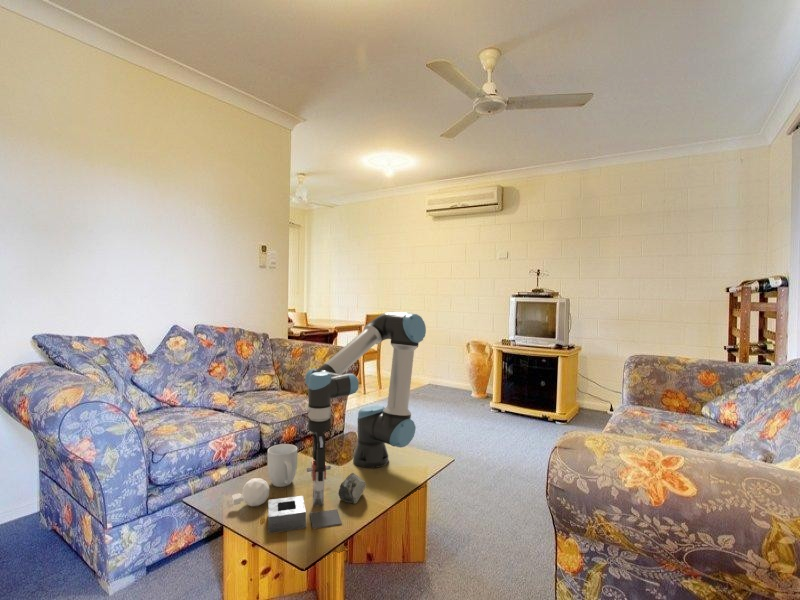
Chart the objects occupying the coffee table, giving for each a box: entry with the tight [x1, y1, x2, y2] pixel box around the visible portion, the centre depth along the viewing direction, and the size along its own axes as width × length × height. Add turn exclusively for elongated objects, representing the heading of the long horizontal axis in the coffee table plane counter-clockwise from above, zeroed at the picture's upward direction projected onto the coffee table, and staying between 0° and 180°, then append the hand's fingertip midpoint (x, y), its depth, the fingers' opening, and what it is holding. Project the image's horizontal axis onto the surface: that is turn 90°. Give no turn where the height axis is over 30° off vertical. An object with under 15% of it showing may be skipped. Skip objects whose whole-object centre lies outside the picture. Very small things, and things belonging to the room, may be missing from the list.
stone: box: [337, 472, 367, 504], centre depth 151 cm, size 10×10×10 cm
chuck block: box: [267, 495, 307, 534], centre depth 136 cm, size 11×11×5 cm
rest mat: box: [309, 509, 342, 530], centre depth 138 cm, size 9×9×1 cm
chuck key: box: [306, 460, 332, 507], centre depth 148 cm, size 8×4×14 cm, turn 107°
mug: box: [266, 443, 298, 488], centre depth 161 cm, size 15×11×13 cm
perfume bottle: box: [231, 477, 270, 507], centre depth 146 cm, size 9×9×12 cm
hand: (318, 484), depth 148 cm, fingers open, 8 cm apart
